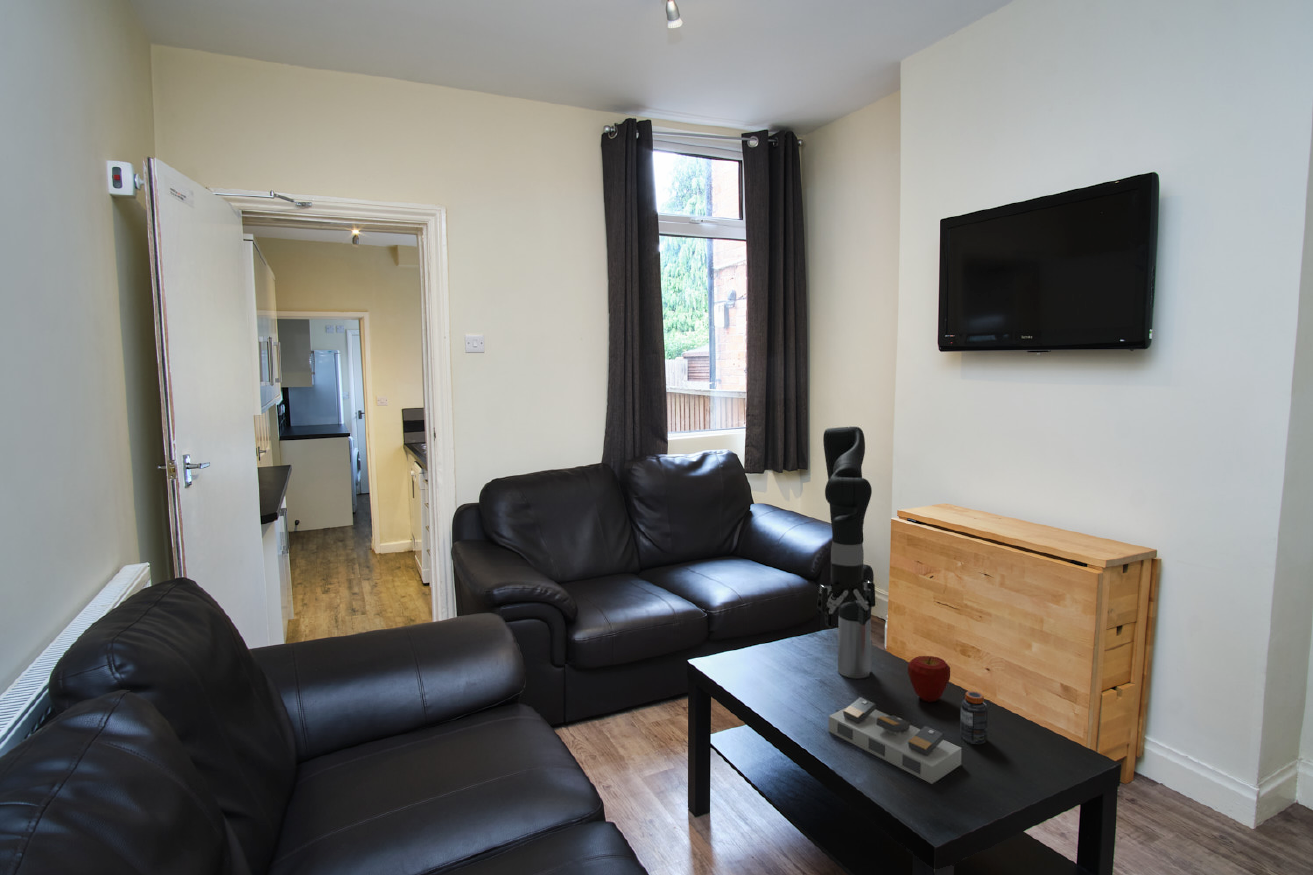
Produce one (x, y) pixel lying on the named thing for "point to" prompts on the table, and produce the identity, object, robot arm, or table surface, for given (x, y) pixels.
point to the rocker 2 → (893, 723)
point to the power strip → (896, 746)
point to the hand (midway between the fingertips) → (846, 625)
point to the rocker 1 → (859, 710)
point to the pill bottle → (974, 718)
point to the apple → (929, 676)
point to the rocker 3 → (926, 740)
